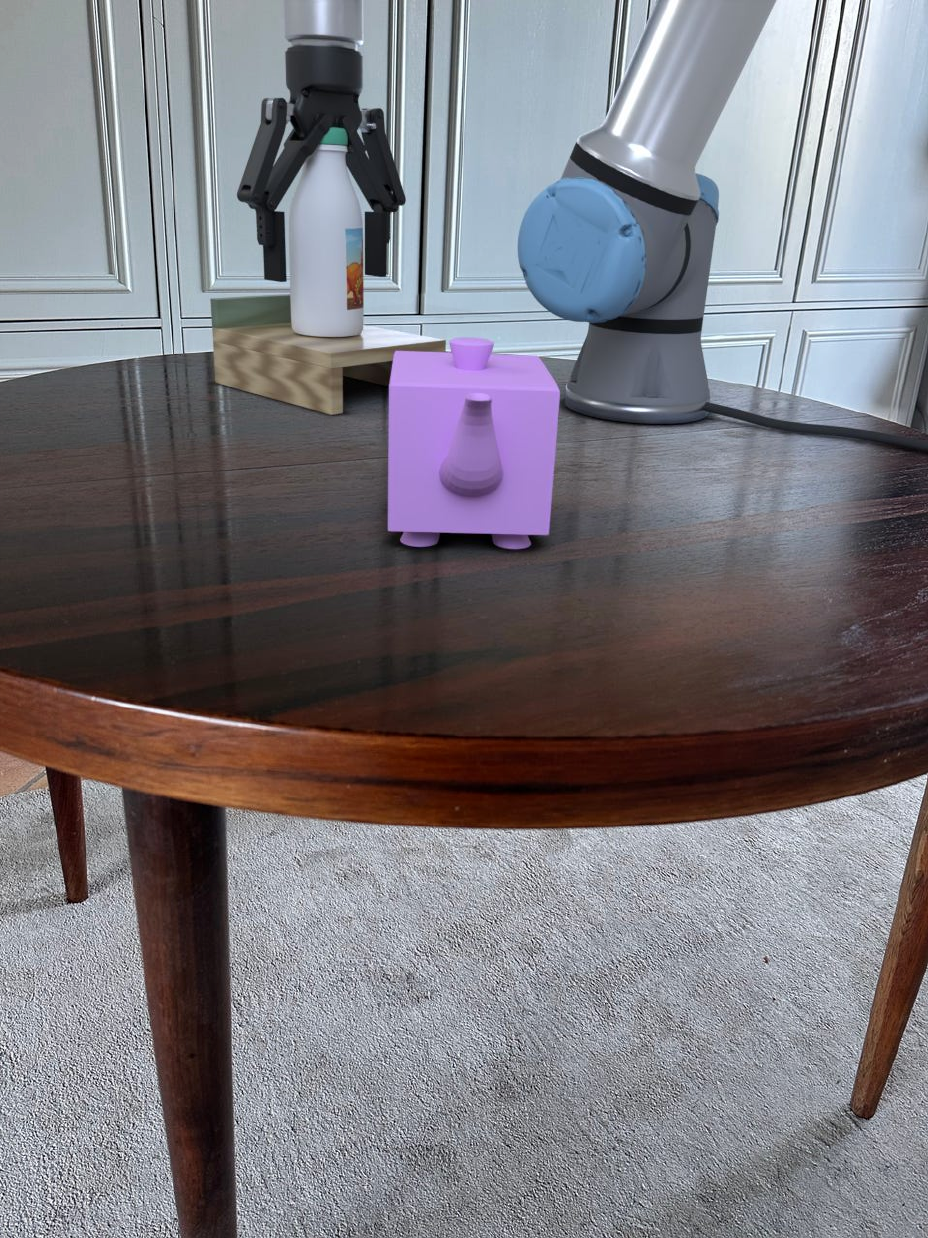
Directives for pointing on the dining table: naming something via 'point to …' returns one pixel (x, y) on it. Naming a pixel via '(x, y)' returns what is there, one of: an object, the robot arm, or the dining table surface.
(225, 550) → the dining table surface
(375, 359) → the shelf
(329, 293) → the milk bottle
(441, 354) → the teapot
